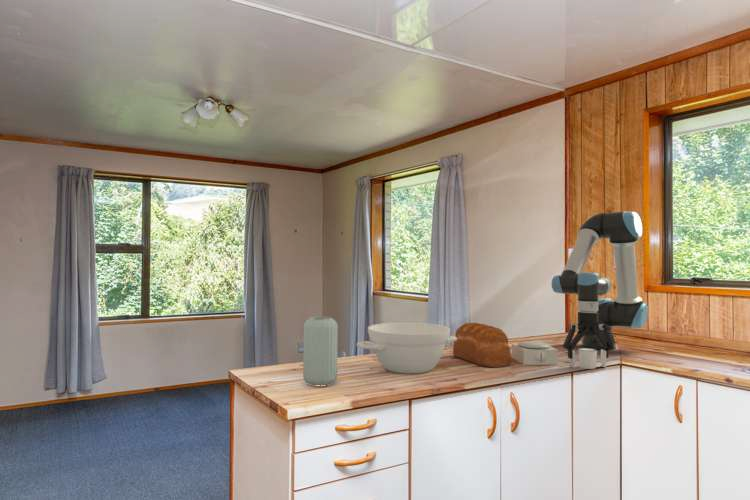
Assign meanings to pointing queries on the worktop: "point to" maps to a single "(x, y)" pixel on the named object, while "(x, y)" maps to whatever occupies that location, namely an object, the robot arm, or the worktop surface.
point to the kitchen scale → (534, 353)
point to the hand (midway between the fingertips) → (587, 366)
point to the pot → (408, 345)
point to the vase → (320, 350)
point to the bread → (482, 345)
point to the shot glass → (587, 358)
